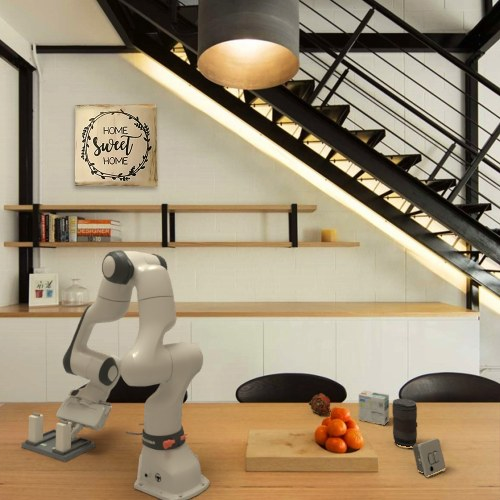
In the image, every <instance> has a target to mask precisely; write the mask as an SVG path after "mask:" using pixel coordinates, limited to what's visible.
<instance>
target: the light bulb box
mask: <svg viewBox="0 0 500 500" xmlns="http://www.w3.org/2000/svg"><path fill="white" fill-rule="evenodd" d="M389 399H390V396H389V394H387V393H386V394H385V393H382V392H374V391H368V390H363V391H360V393H358V421H359V420H364V421H369V422H375V423H379V424H384V425H385V424H386V423H387V422H388V423H389V421H390V400H389ZM388 420H389V421H388ZM364 421H363V422H364ZM388 423H387V424H388ZM387 424H386V425H387ZM386 425H385V426H386Z"/></svg>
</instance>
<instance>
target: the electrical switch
mask: <svg viewBox="0 0 500 500" xmlns="http://www.w3.org/2000/svg"><path fill="white" fill-rule="evenodd" d="M412 447H413V448H412V450H413V455H414V459H415V463H416V469H417V471H418V470H419V471H421V472H423V473H424V474H423V475H426V476H428V475H431V474H433V473H435V472H438V471H440V470H442V469H444V468H446V469H447V466H446V462H445V459H444V454H443V451H442V447H441V442H440V439H439V438H435V437H434V438H433V439H430V440H429V439H428V440H426V441H425V440H424V441H422V442H419V443H418V444H416V443H415V445H413V446H412Z"/></svg>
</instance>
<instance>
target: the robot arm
mask: <svg viewBox="0 0 500 500" xmlns="http://www.w3.org/2000/svg"><path fill="white" fill-rule="evenodd" d="M101 271H102V276H103V277H102V279H101V281H100V284H99V288H98V291H97V296H96V298H95V300H94V302H93V303H91V304H89V305H88V306H87V307H86V308H85V310H84V311H83V313H82V315H81V317H80V320H79V322H78V324H77V327H76V330H75V331H74V334H73V337H72V340H71V343H70V345H69V347H68V349H67V350H66V351H65V353H64V355H63V357H62V358H63V359H62V367H63V368H64V372H65V373H66V374H69V375H72V376H73V375H74V376H78V377H80V378H84V379H86V380H89V382H88V383H87V384H86V385H85V386H84V387H81V388H77V389H71V390H70V392H69V394H68V397H67V398H65V400H64V401H63V402H62V404H61V405H60V406H59V408H58V409H57V410H56V411H57V412H56V414H55V416H56V418H57V419H59V420H63V421H67V422H71V438H72V439H73V438H74V437H76V435H78V433H80V432H82V430H83V429H84V428H87V429H90V430H94V431H97V432H100V431H101V430H102V429H103V428H104V426H105V425H106V422H107V421H108V418H109V414H110V412H111V411H112V407H113V406H112V404H111V402H107V399H108V398H109V396H110V393H111V391H112V389H114V388H115V386H116V385H117V383H118V381H119V380H120V377H121V378H122V379H123V382H125V383H126V384H127V385H128V386H129V387H149V386H153V385H158V384H159V386H158V388H157V389H156V390H155V392H153V393H152V394H151V395H150V396H149V397H148V398H147V399H146V401H145V402H144V407H143V408H144V410H143V416H144V417H143V424H144V425H143V428H142V432H141V433H142V435H141V444H142V445H143V446H142V449H141V452H140V454H139V459H138V465H137V466H138V468H137V477H136V478H137V479H136V480H135V482H134V484H133V488H134V489H135V490H138V491H140V492H143V493H145V494H147V495H150V496H152V497H155V498H157V499H159V500H190V499H191V498H194V497H195V496H198V495H200V494H201V493H203V492H204V491H206V490H207V488H208V487H209V486H210V480H209V479H208V478H207V477H206V476H205V475H203V474H202V469H201V462H200V460H199V456H198V454H196V453H193V451H192V449H191V448H190V446H189V445H188V444H187V442H186V440H187V439H188V434H185V430H184V428H183V427H184V426H183V425H182V417H183V403H184V399H185V395H186V392H187V390H188V388H189V386H190V384H191V383H192V380H193V379H194V378H195V377H196V375H198V374H199V372H200V371H201V370H202V369H203V368H202V367H203V365H204V355H203V351H202V350H201V348H200V347H199V346H198V345H197V344H196V343H192V342H183V341H181V342H180V341H179V342H175V343H167V344H164V342H163V341H164V336H165V335H166V333H168V331H170V330H171V329H173V327H174V326H176V325H175V324H176V322H177V319H178V318H177V313H176V312H177V311H176V310H177V309H176V305H175V297H174V289H173V285H172V281H171V278H170V275H169V273H168V264H167V261H166V259H165V258H164V257H162V256H161V255H159V254H155V253H148V252H142V251H141V252H140V251H137V250H121V249H120V250H113V251H110V252H108V253H106V255H105V257H104V258H103V260H102V264H101ZM134 287H135V289H136V298H137V308H138V309H137V310H138V323H139V325H138V326H139V327H138V333H137V336H136V339H135V341H134V343H133V345H132V346H131V348H129V350H128V351H127V352H126V353H125V354H124V356H122V359H121V358H120V357H119V356H117V355H116V354H105V353H102V352H99V351H96V350H93V349H91V348H89V347H88V341H89V339H90V336H91V334H92V332H93V329H94V327H95V326H96V324H102V323H104V324H105V323H111V322H116V321H118V320H120V319H122V318H124V316H126V314H127V313H128V311H129V308H130V304H131V300H132V295H133V290H134Z"/></svg>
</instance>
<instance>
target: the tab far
mask: <svg viewBox="0 0 500 500" xmlns="http://www.w3.org/2000/svg"><path fill="white" fill-rule="evenodd" d="M43 433H44V414H41V413H38V412H31V415H29V416H28V436H27V437H28V438H27V440H28V441H30V442H33V443H37V442H39V441H42V440H43Z"/></svg>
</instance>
